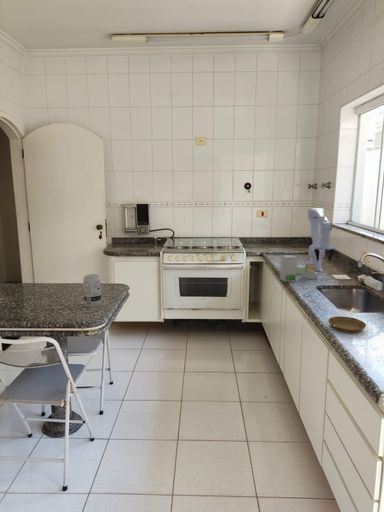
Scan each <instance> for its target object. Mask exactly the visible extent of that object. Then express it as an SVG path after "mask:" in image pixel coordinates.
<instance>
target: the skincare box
mask: <svg viewBox="0 0 384 512" xmlns="http://www.w3.org/2000/svg"><path fill="white" fill-rule="evenodd" d="M297 264H298V256H296V255H293V254H292V255H280V270H279V280H280V281H282V282H284V283H286V282H289V283H290V282H296V281H297V274H296V268H297V266H298V265H297Z"/></svg>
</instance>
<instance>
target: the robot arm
mask: <svg viewBox="0 0 384 512" xmlns="http://www.w3.org/2000/svg"><path fill="white" fill-rule="evenodd" d="M324 213H325V210H324V208H323V207H309V208H308V209H307V218H308V221H309V222H310V226H311V227H310V228H311V238H312V241H311V242H312V244H310V245H309V247H308V256H309V257H310V258H309V263H308V264H315V272H317V271H321V272H323V271H324V270H323V269H322V261H323V260H322V259H323V258H324V256H325V254H326V251H328V257H327V258H328V259H327V260H328V262H331V260H332V257H333V255H334V254H335V252H336V250H337V247H336V246H330V243H331V242H330V241H331V232H332V230H333V222H332V221H329V219H328V218H327V216H325V214H324Z"/></svg>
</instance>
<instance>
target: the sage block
mask: <svg viewBox="0 0 384 512" xmlns="http://www.w3.org/2000/svg"><path fill="white" fill-rule="evenodd" d="M303 271H305V265H297V268H296V275H301V276H302V274H303Z"/></svg>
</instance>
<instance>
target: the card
mask: <svg viewBox="0 0 384 512" xmlns="http://www.w3.org/2000/svg"><path fill="white" fill-rule="evenodd" d="M331 277H333V279H335V280H349V281H350V280H352V278H351V277H349V276H348V275H346V274H331Z"/></svg>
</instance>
